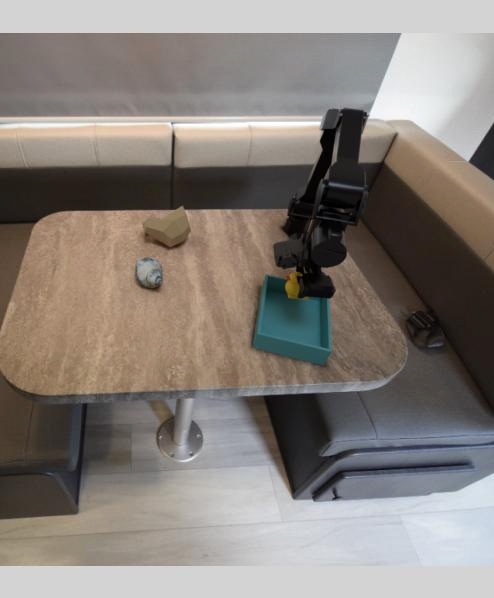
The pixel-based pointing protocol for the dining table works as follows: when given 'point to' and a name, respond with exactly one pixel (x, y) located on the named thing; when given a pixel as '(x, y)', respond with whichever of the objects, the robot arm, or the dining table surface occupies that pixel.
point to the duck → (293, 286)
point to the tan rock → (168, 227)
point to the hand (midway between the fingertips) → (298, 291)
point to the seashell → (148, 272)
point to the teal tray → (292, 324)
